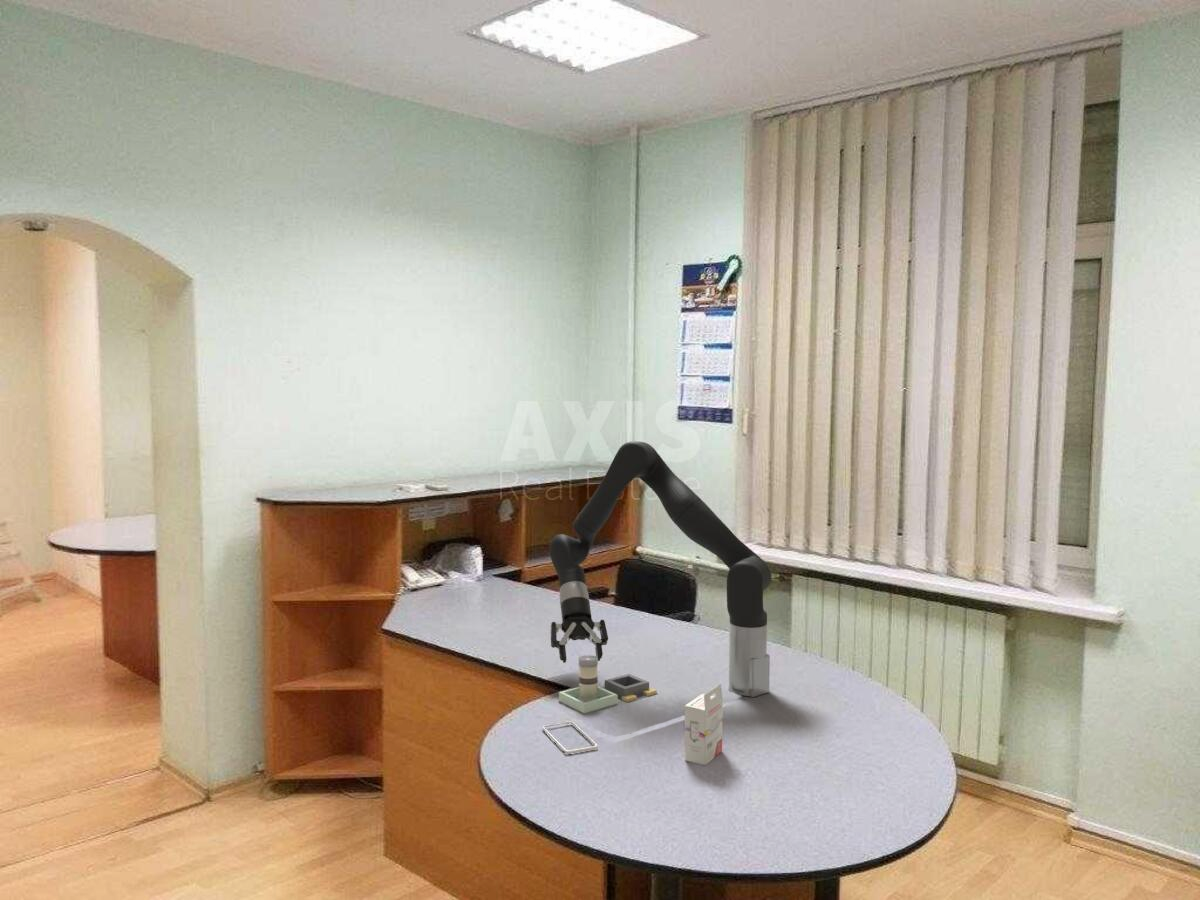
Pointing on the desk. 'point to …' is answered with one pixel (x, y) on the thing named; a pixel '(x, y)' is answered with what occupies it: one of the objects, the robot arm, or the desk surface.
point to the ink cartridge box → (704, 727)
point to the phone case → (575, 749)
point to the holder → (629, 688)
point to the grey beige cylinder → (588, 678)
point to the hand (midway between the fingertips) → (581, 660)
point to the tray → (584, 707)
